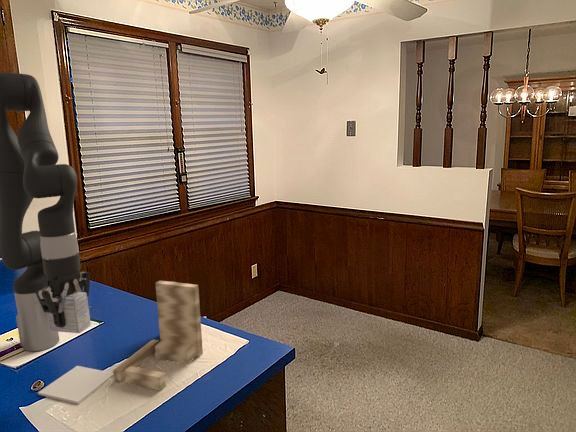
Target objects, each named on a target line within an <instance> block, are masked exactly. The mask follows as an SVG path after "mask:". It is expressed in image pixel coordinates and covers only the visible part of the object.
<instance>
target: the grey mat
mask: <svg viewBox="0 0 576 432" xmlns="http://www.w3.org/2000/svg"><path fill="white" fill-rule="evenodd" d="M113 376H114V373H113V372H110V371H106V370H100V369H96V368H90V367H85V366H81V365H76V366H75V367H74V368H72V369H70V370H68V371H67V372H66V373H64V374H63V375H61V376H60V377H59V378H57V379H55V380H54V381H52V382H51V383H50V384H48V385H46V386H45V387H43V389H40V390H39V391H38V392H37V394H38V395H39V396H43V397H47V398H50V399H55V400H60V401H63V402H68V403H71V404H77V405H80V404H81V403H82V402H83V401H85V400H86V399H87V398H88V397H90V396H91V395H92V394H94V393H95V392H96V391H97V390H98V389H100V388H101V387H102V386H104V385H105V384H106V383H108V382H109V381H110V380H111V379H112V378H114V377H113ZM110 378H111V379H110ZM109 379H110V380H109ZM108 380H109V381H108ZM103 384H104V385H103Z"/></svg>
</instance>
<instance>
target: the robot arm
mask: <svg viewBox="0 0 576 432" xmlns="http://www.w3.org/2000/svg"><path fill="white" fill-rule="evenodd" d="M8 111H11V112H12V111H13V112H29V114H28V116H27V117H26V118H25V120H24V121H23V123H22V124H21V125H20V127H19V129H18V132H17V134H16V133H15V131H14V130H13V128H12V126H11V124H10V121H9V119H8V116H7V115H8V114H7V112H8ZM47 119H48V118H47V113H46V109H45V104H44V100H43V95H42V91H41V87H40V84H39V82H38V80H37V79H36V77H35V76H33V75H31V74H27V73H18V72H5V71H0V259H1V261H2V262H3V265H4V266H5V267H6V268H7V269H9V270H10V271H11V270H12V271H16V270H21V269H24V268H26V269H25V271H24V272H23V273H22V274H21V275H19V276H18V277H17V278H16V279H14V281H13V283H12V285H13V286H12V287H13V292H14V299H15V304H16V305H15V306H16V310H17V311H16V312H17V314H16V315H15V320H16V325H17V330H18V331H17V332H18V337H19V343H20V347H22V348H23V350H24V351H27V352H38V351H43V350H46V349H50V348H51V347H53V346H55V345H57V344H58V343H59V341H60V335H59V333H60V332H58V331H50V325H49V318H48V313H52V314H53V319H54V324H55V325H56V326H57V327H61V328H62V327H64V326H65V318H64V312H62V311H63V305H64V302H65V301H66V296H67V295H68V294H71V293H74V292H76V293H78V292H86V293H87V297H89V294H90V283H91V282H90V281H91V273H90V272H88V271H80V270H81V269H82V267H81V260H80V259H81V258H80V251H79V243H78V238H77V234H76V231H75V230H76V229H75V220H74V204H75V203H74V202H75V198H76V193H77V187H78V175H77V173H76V171H75V169H74V168H73V167H72V166H71V165H69V164H67V163H66V164H65V163H60V164H57V163H58V162H59V152H58V150H57V148H56V145H55V143H54V140H53V137H52V135H51V133H50V129H49V126H48V120H47ZM54 197H56V198H57V197H59V198H58V200H57V202H56V203H55V204H53V205H51V206H48V207H44V208H42V209H41V210H39V211H38V212H37V223H38V229H39V230H31V231H27V232H23V224H24V223H23V222H24V218H25V215H26V213H27V212H28V209H29V208H30V206H31V204H32V202H33V200H34V199H45V198H54ZM56 296H59V297H60V298H57V297H56ZM56 302H58V307H56V306H57V303H56Z"/></svg>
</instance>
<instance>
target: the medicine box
mask: <svg viewBox="0 0 576 432" xmlns="http://www.w3.org/2000/svg"><path fill="white" fill-rule="evenodd" d="M56 297H57V298H60V297H59V296H56ZM88 300H89V299H88V296H87V293H86V292H78V293H76V292H74V293H71V294H68V295H67V296H66V301H65V302H64V305H63V311H62V312H64V318H65V326H64V327H62V328H61V327H57V326H56V325H55V324H54V319H53V314H52V313H48V318H49V325H50V331H58V333H60V332H61V333H72V334H73V333H74V334H81V333H82V332H83V331H85V330H87V329H88V328H89V327H90V326H91V325H92V322H91V317H90V308H89V302H88ZM56 303H57V306H56V307H58V302H56Z"/></svg>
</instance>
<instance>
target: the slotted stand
mask: <svg viewBox="0 0 576 432" xmlns="http://www.w3.org/2000/svg"><path fill="white" fill-rule="evenodd" d="M155 296H156V305H157V316H158V318H157V319H158V329H159V339H160V340H159V339H158V340H157V339H151V340H150V341H149V342H147V343H146V344H145V345H144V346H142V347H140V349H138V350H137V351H135V352H134V353H133V354H132V355H131V356H129V357H128V358H126V359H125V360H124V361H123V362H122V363H120V364H119V365H118V366H116V367H115V368H114V369H112V373H114V377H113V380H115V381H114V382H117V381H119V382H118V383H122V382H123V381H124V380H125V384H129V385H131V386H136V387H141V388H146V389H152V390H156V391H160V392H161V391H162V390H163V389H164V388H165V387H167V385H166V384H167V383H166V373H165V372H163V371H157V370H152V369H147V368H146V369H145V368H142V367H141V366H143V365H144V364H145V363H146V362H147V361H149V360H150V359H151V358H152V357H154V356H155V359H156V358H157V359H158V360H163V361H167V360H168V362H173V361H174V363H178V362H179V364H185V365H189V364H190V363H191V362H192V361H193V360H194V359H195V358H196V357H197V358H200V357H201V356H202V355H203V353H204V352H203V351H204V349H203V339H202V338H203V337H202V336H203V335H202V322H201V307H200V290H199V284H193V283H185V282H184V283H183V282H177V281H173V282H170V281H167V280H158V281H156V282H155ZM149 358H150V359H149ZM148 359H149V360H148ZM144 362H145V363H144ZM143 363H144V364H143ZM142 364H143V365H142ZM138 367H139V368H138Z"/></svg>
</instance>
